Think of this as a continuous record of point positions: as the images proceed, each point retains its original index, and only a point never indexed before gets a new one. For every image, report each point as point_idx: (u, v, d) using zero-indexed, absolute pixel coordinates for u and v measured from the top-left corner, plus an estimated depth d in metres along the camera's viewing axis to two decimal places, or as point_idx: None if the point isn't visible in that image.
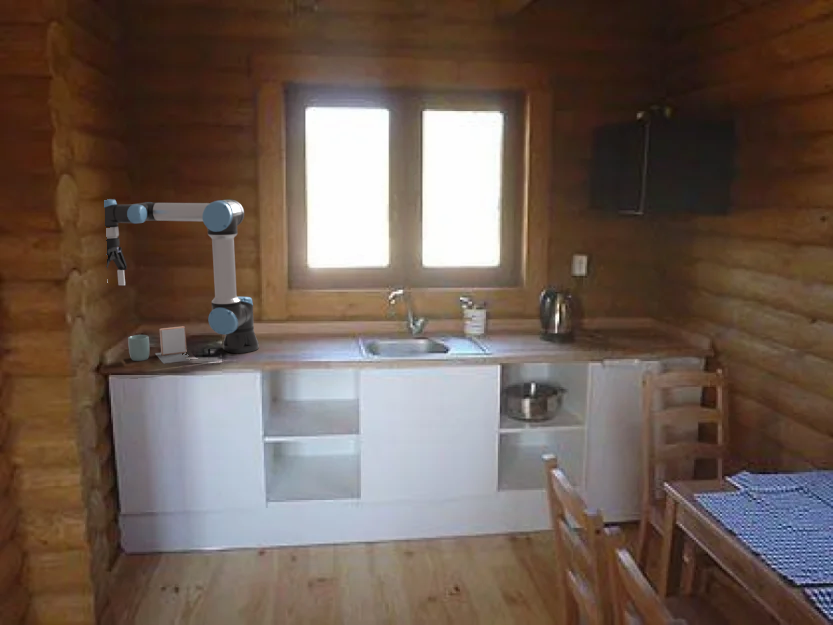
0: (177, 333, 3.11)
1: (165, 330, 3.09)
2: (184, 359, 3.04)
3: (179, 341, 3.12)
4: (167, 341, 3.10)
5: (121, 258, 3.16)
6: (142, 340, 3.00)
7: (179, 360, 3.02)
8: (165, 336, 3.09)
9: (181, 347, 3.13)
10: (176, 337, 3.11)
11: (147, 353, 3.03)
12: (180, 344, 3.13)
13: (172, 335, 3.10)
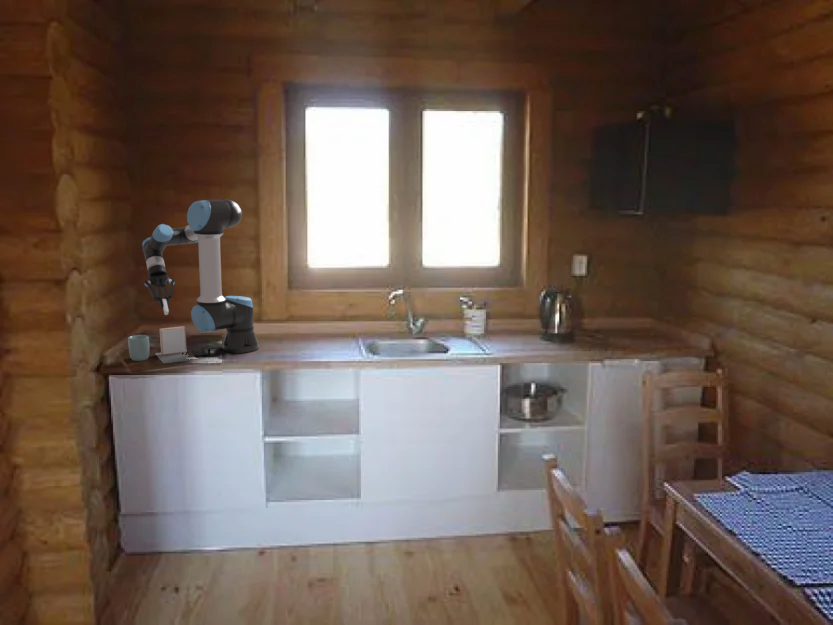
0: (177, 333, 3.11)
1: (165, 330, 3.09)
2: (184, 359, 3.04)
3: (179, 341, 3.12)
4: (167, 341, 3.10)
5: (170, 288, 3.25)
6: (142, 340, 3.00)
7: (179, 360, 3.02)
8: (165, 336, 3.09)
9: (181, 347, 3.13)
10: (176, 337, 3.11)
11: (147, 353, 3.03)
12: (180, 344, 3.13)
13: (172, 335, 3.10)
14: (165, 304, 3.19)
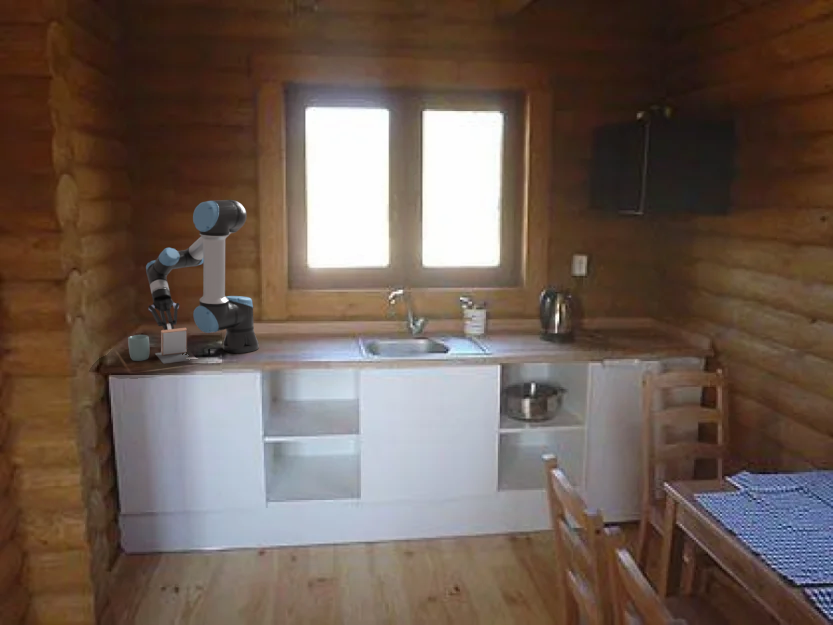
0: (178, 336, 3.09)
1: (167, 333, 3.06)
2: (184, 359, 3.04)
3: (180, 343, 3.11)
4: (168, 343, 3.08)
5: (174, 312, 3.19)
6: (142, 340, 3.00)
7: (179, 360, 3.02)
8: (166, 339, 3.07)
9: (181, 348, 3.12)
10: (177, 339, 3.10)
11: (147, 353, 3.03)
12: (181, 345, 3.12)
13: (173, 337, 3.08)
14: None
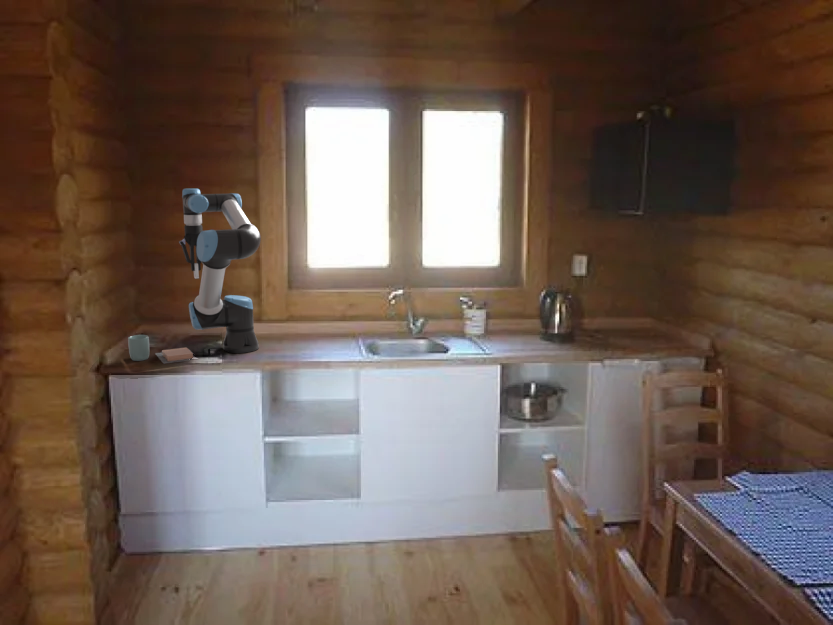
0: None
1: (172, 360, 3.02)
2: None
3: None
4: None
5: None
6: (142, 340, 3.00)
7: (179, 360, 3.02)
8: None
9: None
10: None
11: (147, 353, 3.03)
12: None
13: None
14: (196, 270, 3.27)
